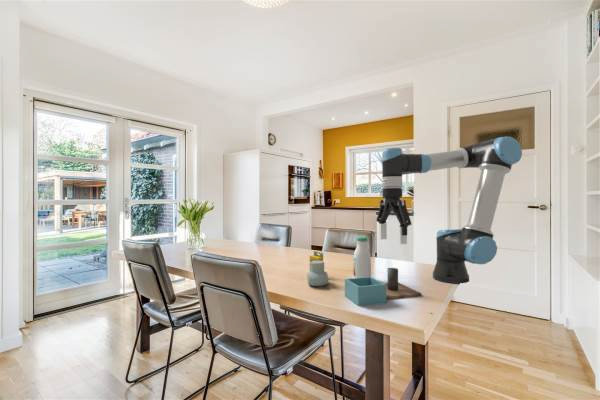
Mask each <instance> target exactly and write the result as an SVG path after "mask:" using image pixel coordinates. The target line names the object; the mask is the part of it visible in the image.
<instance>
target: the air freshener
mask: <svg viewBox="0 0 600 400" xmlns="http://www.w3.org/2000/svg"><path fill="white" fill-rule="evenodd" d="M306 274H307V275H306V276H307V277H306V278H307V284H308V285H310V286H311V287H323V286H326V285H327V284H328V283H329V275H328V272H327V271H325V262H324V260H323V261H312V262H311V271H310V270H309V271H308V272H307V273H306Z"/></svg>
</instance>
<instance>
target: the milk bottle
mask: <svg viewBox="0 0 600 400" xmlns="http://www.w3.org/2000/svg"><path fill="white" fill-rule="evenodd" d="M356 242H357V245H356V247H355V250H354V252H353V278H362V277H372V257H371V252H370V249H369V247H368V237H366V236H358V237H357V238H356Z"/></svg>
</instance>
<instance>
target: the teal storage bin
mask: <svg viewBox="0 0 600 400" xmlns="http://www.w3.org/2000/svg"><path fill="white" fill-rule="evenodd" d="M386 284H387V283H384V282H382V281H380V280H378V279H376V278H374V277H372V276H371V277H362V278H354V277H352V278H344V297H345V298H347V299H348V300H349V301H350V302H352V303H353V304H355V305H356V306H357V307H362V306H363V307H364V306H369V305H381V304H386V303H387V300H386Z"/></svg>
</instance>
